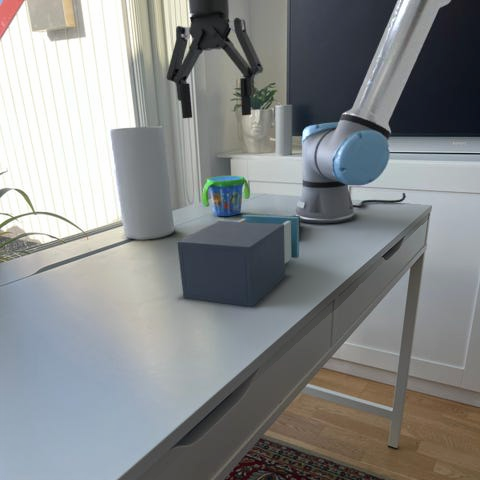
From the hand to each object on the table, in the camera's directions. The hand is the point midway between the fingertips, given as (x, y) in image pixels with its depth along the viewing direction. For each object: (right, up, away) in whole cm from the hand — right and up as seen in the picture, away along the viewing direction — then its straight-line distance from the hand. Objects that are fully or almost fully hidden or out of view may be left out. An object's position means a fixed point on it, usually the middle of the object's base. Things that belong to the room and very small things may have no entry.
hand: (216, 116), depth 97 cm
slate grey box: (+4, -36, -15) cm, 39 cm away
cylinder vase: (-18, -20, +24) cm, 36 cm away
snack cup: (+1, -11, +41) cm, 42 cm away
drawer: (+10, -30, -4) cm, 32 cm away
